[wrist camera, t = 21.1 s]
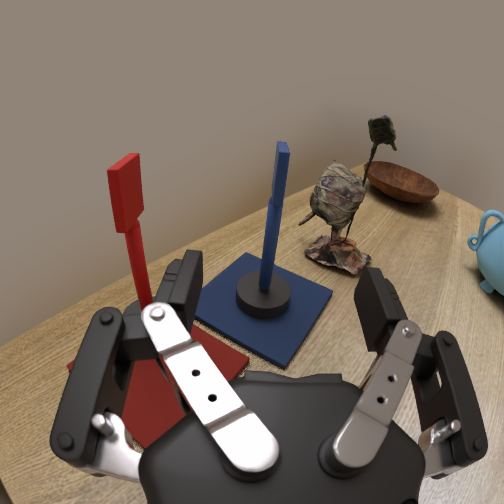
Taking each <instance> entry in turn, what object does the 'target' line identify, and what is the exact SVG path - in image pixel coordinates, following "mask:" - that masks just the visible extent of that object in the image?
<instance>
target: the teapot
mask: <svg viewBox="0 0 504 504" xmlns="http://www.w3.org/2000/svg"><path fill="white" fill-rule="evenodd" d="M490 216H495V217H498V218H499V219H500V221H498V222H497V223H495V224H494V225H493V226H491V227H490V228H489V229H488V230H487V231H486V233H485V234H484V228H485V224H486V221H487V219H488V218H489V217H490ZM483 234H484V235H483ZM473 239H476V240H477V243H476V244H473V243H472V240H473ZM467 243H468V246H469V248H470V249H471V250H473V251H476V254H477V261H478V266H479V269H480V271H481V273H482V274H483V276H484V277H485V280H484V281H483V282H481V287H482V288H483V290H485V291H486V292H488V293H492V292H493V291H494V289H496V290H497V291H498V292H499V293H500V294H502V295H503V296H504V216H503V214H502V213H500V212H499V211H496V210H489V211H487V212H485V213H484V215H483V216H482V219H481V222H480V227H479V234H478V236H477V235H476V234H472V235H471V236H470V237H469V238H468V241H467Z"/></svg>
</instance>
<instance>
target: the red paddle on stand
mask: <svg viewBox="0 0 504 504" xmlns="http://www.w3.org/2000/svg"><path fill="white" fill-rule="evenodd" d="M107 174H108V183H109V190H110V197H111V204H112V210H113V216H114V222H115V227H116V231H117V233H125V238H126V243H127V248H128V254H129V259H130V264H131V268H132V273H133V278H134V282H135V286H136V290H137V295H138V299H139V300H136V301H134V302H133V303H131V304H130V305H129V306H128V307H127V308H126V309H125V311H124V313H123V315H128V314H137V313H141V312H142V311H143V309H144V308H145V307H146V306H147V305H149V304H151V303H153V301H154V298H155V297H152V294H151V289H150V284H149V278H148V273H147V267H146V262H145V256H144V250H143V243H142V236H141V229H140V223H139V221H138V220H137V218H138V217H139V215H140V214H141V213H142V211H143V210H144V205H143V196H142V184H141V172H140V157H139V153H130V154H128V155H127V156H125V157H124V158H123V159H121V160H120V161H118V162H117V163H116V164H114V165H113V166H112V167H110V168H109V169H108V170H107Z"/></svg>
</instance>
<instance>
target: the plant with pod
mask: <svg viewBox="0 0 504 504" xmlns="http://www.w3.org/2000/svg"><path fill="white" fill-rule="evenodd" d="M368 125H369V133H370V138H371V141H372V142H374V145H373V148H372V149H371V157H370V159H369V162H368V164H367V167H366V170H365V174H364V179H363V181H362V178H361V177H359V176H357V175H356V174H354V173H352V172H350V171H349V170H348V169H346V168H345V167H344V166H342V165H341V164H337V163H331V164H330V165H329V166H328V167H327V168H326V170H325V171H324V172H323V173H322V175H321V177H320V179H319V180H318V183H317V185H316V186H315V188H314V190H313V192H312V194H311V196H310V207H311V208H312V212H311V213H310V214H308V216H306V218H305V219H303V220H301V221H300V222H299V224H298V225H299V226H300V225H302V224H304V223H306V222H307V221H309V220H310V219H311V218H312V217H314V216H315V215H317V216H319V217H321V218H322V219H324V220H325V221H326V223H327V224H328V225H331V226H332V228H331V230H332V232H331V238H330V237H329V236H328V237H327V236H324V237H323V236H322V235H321V237H319V238H318V237H317V238H318V239H317V240H316V242H314V243H313V244H312V245H311V246H310V247H309V249H305V250H304V251H305V252H304V253H305V254H307V256H308V257H309V256H310V257H312V259H315V260H317V261H318V262H321V263H322V264H325V265H331V266H333V265H336V266H337V267H338V268H345V269H346V270H348V271H349V272H351V273H352V274H357V273H359V272H357V271H361V268H364V267H365V266H364V264H365V263H367V262H368V260H371V257H370V256H369V255H367V254H366V253H362V252H360V251H359V250H358V249H357V248H356V247H355V246H356V242H355V241H353V240H350V239H347V236H348V233H349V230H350V226H351V224H352V221H353V218H354V215H355V213H356V211H357V210H358V209H359V205H360V203H362V201H363V199H364V196H365V194H366V185H365V182H366V178H367V174H368V171H369V168H370V164H371V161H372V159H373V157H374V154H375V152H376V148H377V146H378V144H381V143H384V144H387V145H388V144H390V145H391V146H392V148H393V150H394V151H396V150H397V149H396V147H395V143H394V140H395V139H396V135H395V130H394V127H393V124H392V121H391V118H390V117H389V116H387V115H384V116H381V117H375V118H372V119H370V120H369V121H368ZM334 161H336V160H334ZM350 220H351V222H350ZM349 222H350V224H349ZM348 224H349V226H348V230H347V234H346V238H344V237H340V234H341V231H342V229H343V228H344V227H346V226H347V225H348ZM363 263H364V264H363ZM356 270H357V271H356Z"/></svg>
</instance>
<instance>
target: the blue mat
mask: <svg viewBox="0 0 504 504" xmlns="http://www.w3.org/2000/svg"><path fill="white" fill-rule="evenodd" d="M261 260H262V259H260V258H258V257H256V256H253V255H251V254H249V253H247V252H245V253H244V254H243V255H242V256H241V257H239V258H238V259H237V260H236V261H235V262H233V263H232V264H231V265H230V266H229V267H227V268H226V269H225V270H224V271H222V272H221V273H220V274H219V275H218V276H216V277H215V278H214V279H213V280H212V281H210V282H209V283H208V284H207V285H206V286H204V287H203V288H202V289H201V293H200V297H199V301H198V305H197V309H196V313H195V317H194V318H195V319H197V320H199V321H200V322H202V323H204V324H205V325H207V326H208V327H210V328H212V329H213V330H215V331H217V332H218V333H220V334H222V335H223V336H225V337H227V338H229V339H230V340H232V341H234V342H236V343H237V344H239V345H241V346H243V347H244V348H246V349H248V350H250V351H251V352H253V353H255V354H257V355H259V356H261V357H262V358H264V359H266V360H268V361H270V362H272V363H274V364H275V365H277V366H279V367H281V368H283V369H285V367H286V366H287V364H288V363H289V361H290V360H291V358H292V357H293V355H294V354H295V352H296V351H297V349H298V348H299V346H300V345H301V343H302V342H303V340H304V339H305V337H306V336H307V334H308V332H309V331H310V329H311V328H312V326H313V325H314V323H315V321H316V320H317V318H318V316H319V315H320V313H321V312H322V310H323V308H324V307H325V305H326V303H327V302H328V300H329V298H330V297H331V295H332V293H333V290H331V289H328V288H326V287H324V286H321V285H319V284H317V283H315V282H312V281H310V280H308V279H306V278H303V277H301V276H299V275H296V274H294V273H292V272H290V271H287V270H285V269H283V268H281V267H278V266H276V265H274V266H273V272H272V273H275V274H277V275H279V276H281V277H282V278H284V279H285V280H286V281H287V282H288V284H289V285H290V288H291V296H290V300H289V304H288V307H287V309H286V311H285V312H284V313H283V314H281V315H280V316H278V317H275V318H271V319H258V318H254V317H251V316H249V315H247V314H245V313H244V312H243V311H242V310H241V309H240V308H239V307H238V305H237V303H236V285H237V282H238V280H239V279H240V278H241V277H242V276H244V275H245V274H247V273H250V272H254V271H260V268H261Z"/></svg>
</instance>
